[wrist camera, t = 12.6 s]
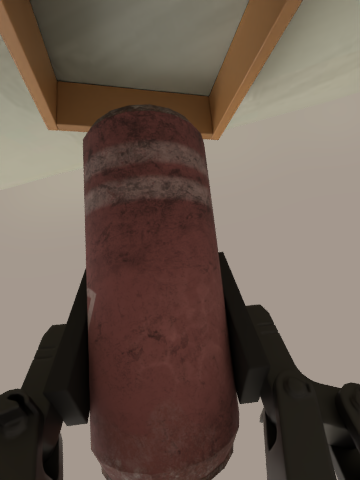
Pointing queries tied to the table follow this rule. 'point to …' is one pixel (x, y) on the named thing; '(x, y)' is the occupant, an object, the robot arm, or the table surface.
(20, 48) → the wooden square frame
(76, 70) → the table surface
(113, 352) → the can
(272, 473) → the robot arm
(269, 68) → the table surface
